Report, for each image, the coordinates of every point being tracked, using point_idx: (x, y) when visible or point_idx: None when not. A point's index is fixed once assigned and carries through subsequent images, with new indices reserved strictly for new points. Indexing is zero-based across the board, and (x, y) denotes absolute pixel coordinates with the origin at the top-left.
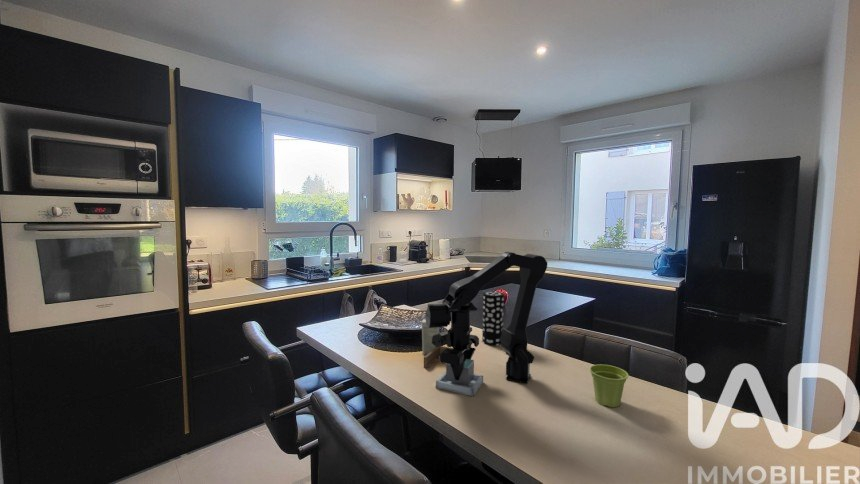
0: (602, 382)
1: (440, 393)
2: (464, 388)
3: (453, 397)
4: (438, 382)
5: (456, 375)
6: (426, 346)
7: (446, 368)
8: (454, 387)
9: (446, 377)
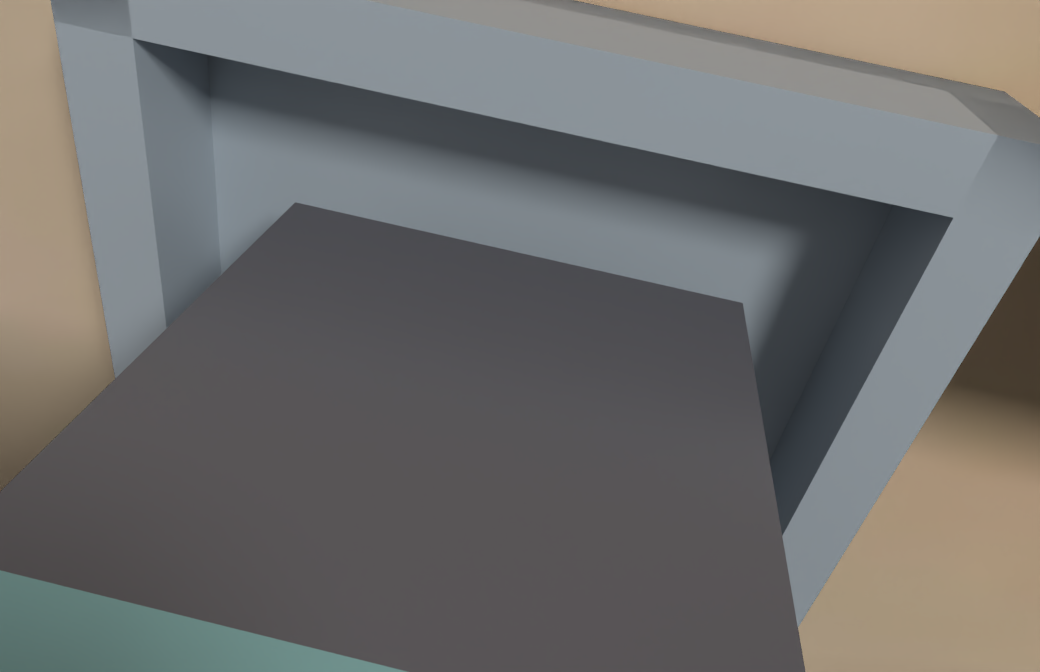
0: None
1: (7, 89)
2: None
3: (34, 336)
4: (67, 20)
5: None
6: None
7: (88, 420)
8: None
9: (262, 247)
